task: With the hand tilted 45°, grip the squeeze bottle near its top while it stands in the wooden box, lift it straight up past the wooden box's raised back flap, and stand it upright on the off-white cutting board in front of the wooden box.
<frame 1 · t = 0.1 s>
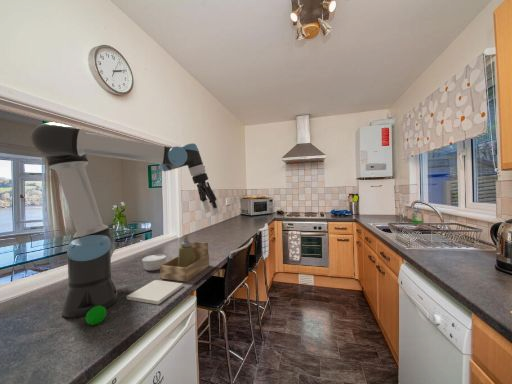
hand: (212, 213, 108), 28 cm above the counter, tool tilted 20°, fingers open, 13 cm apart
cutting board: (156, 292, 80), on the counter
squeeze bottle: (186, 271, 100), resting in wooden box
polyhedron: (96, 323, 62), on the counter
wooden box: (186, 271, 100), on the counter
ramekin: (154, 267, 107), on the counter
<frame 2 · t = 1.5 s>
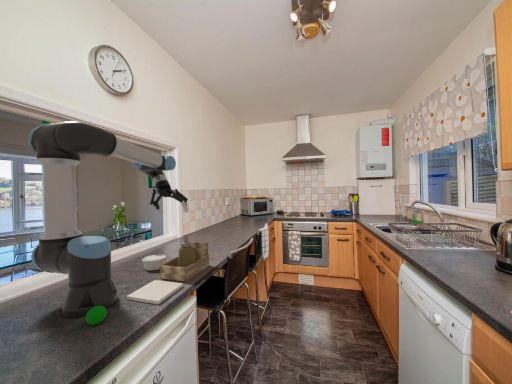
hand: (175, 212, 107), 29 cm above the counter, tool tilted 45°, fingers open, 13 cm apart
nothing on the counter moved.
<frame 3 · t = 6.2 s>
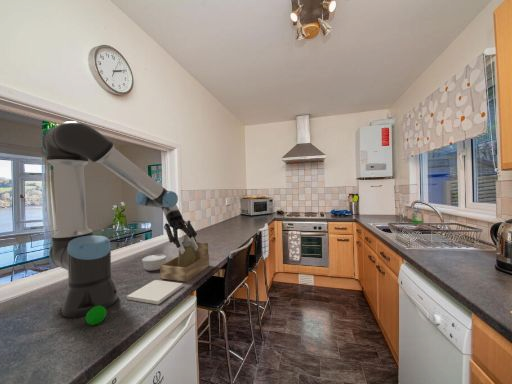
hand: (190, 250, 98), 11 cm above the counter, tool tilted 45°, fingers closed on squeeze bottle, 6 cm apart
squeeze bottle: (186, 271, 100), resting in wooden box, touching gripper
everything else where it was.
when the fingers open (13 cm above the counter, at t = 13.7 s): squeeze bottle drops 1 cm, resting on cutting board.
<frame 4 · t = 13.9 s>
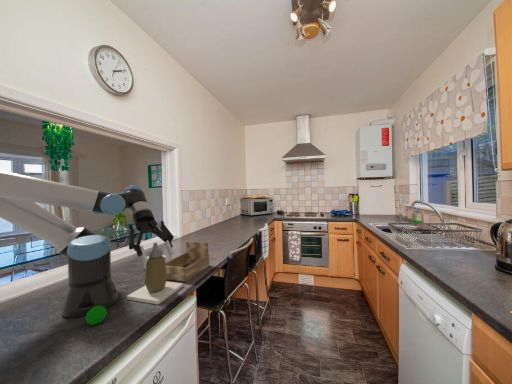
hand: (159, 258, 78), 14 cm above the counter, tool tilted 45°, fingers open, 9 cm apart
squeeze bottle: (156, 289, 80), point 1 cm above the counter, touching cutting board
everything else where it was.
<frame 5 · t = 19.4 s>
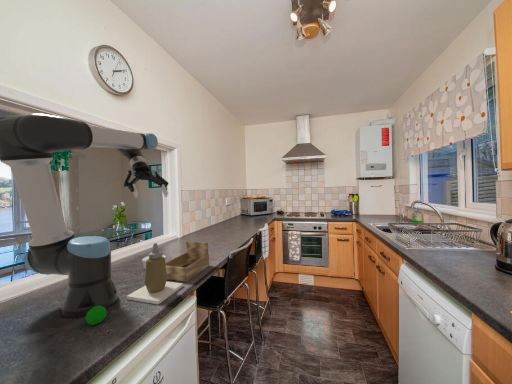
hand: (152, 195, 97), 38 cm above the counter, tool tilted 45°, fingers open, 13 cm apart
nothing on the counter moved.
at the end: squeeze bottle inside the target area on the cutting board (0.0 cm from its centre), point 1.0 cm above the cutting board's base; squeeze bottle tilted 0°; the gripper is holding nothing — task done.
